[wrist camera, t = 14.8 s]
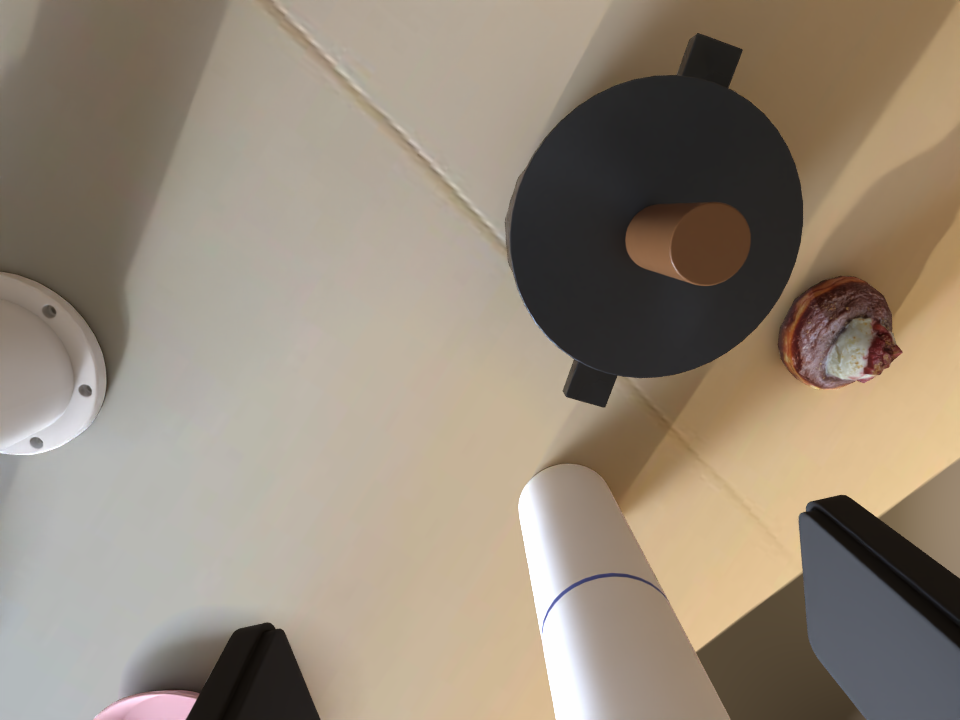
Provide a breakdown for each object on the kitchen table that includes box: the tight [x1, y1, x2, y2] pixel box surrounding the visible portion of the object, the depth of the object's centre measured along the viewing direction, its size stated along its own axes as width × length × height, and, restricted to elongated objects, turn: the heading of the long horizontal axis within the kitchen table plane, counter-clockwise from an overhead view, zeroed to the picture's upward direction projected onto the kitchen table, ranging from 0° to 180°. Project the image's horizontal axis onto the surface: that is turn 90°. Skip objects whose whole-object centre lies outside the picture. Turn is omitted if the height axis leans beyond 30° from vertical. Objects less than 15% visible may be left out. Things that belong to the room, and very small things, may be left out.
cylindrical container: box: [519, 464, 731, 720], centre depth 29 cm, size 7×7×25 cm
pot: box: [505, 33, 743, 407], centre depth 31 cm, size 14×19×8 cm
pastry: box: [778, 276, 902, 389], centre depth 35 cm, size 8×8×5 cm
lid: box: [509, 75, 803, 378], centre depth 24 cm, size 15×15×7 cm
